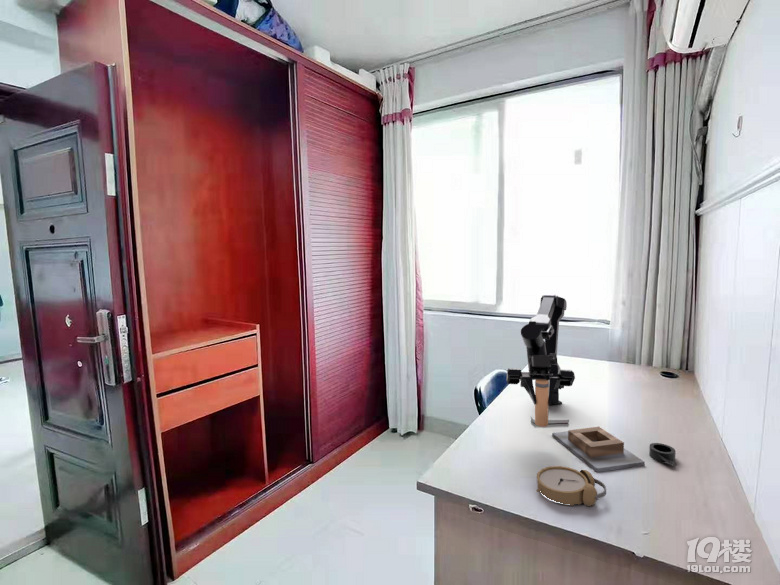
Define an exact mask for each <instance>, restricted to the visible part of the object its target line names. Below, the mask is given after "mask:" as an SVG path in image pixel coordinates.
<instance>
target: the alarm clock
mask: <svg viewBox="0 0 780 585" xmlns="http://www.w3.org/2000/svg"><path fill="white" fill-rule="evenodd" d="M536 480H537V489H536V492H537V493H540V491H541V493H542V494H543V495H545V496H546V497H547V498H549V499H551V500H554V501H556V502H560V503H563V504H570V505H569V506H575V505H574V504H578V505H581V504H583V505H584V506H586V505H588V506H587V507H590V506H591V505H592V506H594V505H595V503H596V502H597V500H598V501H599V499H601V498H603V497H605V496H606V494H607V486H606V485H605V483H604V482H602V481H600V480H599V479H596V478H595V477H594V476H593V474H592V473H591V472H590V471H588V470H587V469H580V470H577V469H574V468H570V467H567V466H562V465H560V466H559V465H558V466H557V465H552V466H546V467H544V468H541V469H540V470H539V471H537V473H536ZM595 485H599V486H600V487H602V488H603V491H602V492H599V493H598V491H597V488H596V487H595ZM538 488H539V489H538Z"/></svg>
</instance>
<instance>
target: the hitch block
mask: <svg viewBox="0 0 780 585" xmlns="http://www.w3.org/2000/svg"><path fill="white" fill-rule="evenodd" d="M551 436H552V437H553V438H554V439H555V440H557V442H559V443H560V444H561V445H563V446H564V447H565V448H566V449H568V450H569V451H570V452H571V453H573V454H574V455H575V456H576V457H578V459H580V460H581V461H583V462H584V463H585V464H586V465H587V466H589V467H590V468H591V469H592V470H593V471H595V472H596V473H600V472H606V471H608V472H609V471H615V470H621V469H627V468H628V469H629V468H634V467H635V468H636V467H643V466H645V463H646V462H645V461H644V460H643V459H641V458H639V457H638V456H637V455H635V454H633V453H632V452H631V451H629V450H627V449H626V448H625V442H623V441H622V440H621V439H619V438H618V437H616V436H614V435H612V434H611V433H610V432H608V431H607V430H605V429H603V428H602V427H600V426H593V427H585V428H576V429H569V430H565V431H556V432H552V433H551Z"/></svg>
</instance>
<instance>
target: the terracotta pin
mask: <svg viewBox="0 0 780 585" xmlns="http://www.w3.org/2000/svg"><path fill="white" fill-rule="evenodd" d="M534 386H535V388H534V392H535V397H536V404H534V407H535V408H534V424H535V425H536V426H538V427H540V428H546V427H548V426H549V405H548V397H549V381H548V380H545V379H537V380H534Z"/></svg>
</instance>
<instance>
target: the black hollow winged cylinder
mask: <svg viewBox="0 0 780 585" xmlns="http://www.w3.org/2000/svg"><path fill="white" fill-rule="evenodd" d="M648 456H649V457H650V458H651V459H652V460H654V461H656V462H659V463H664V464H668V465H672V466H676V464H675V462H676V448H674V447H672V446H670V445H668V444H665V443H661V442H660V443H659V442H652V443H649V450H648Z"/></svg>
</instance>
